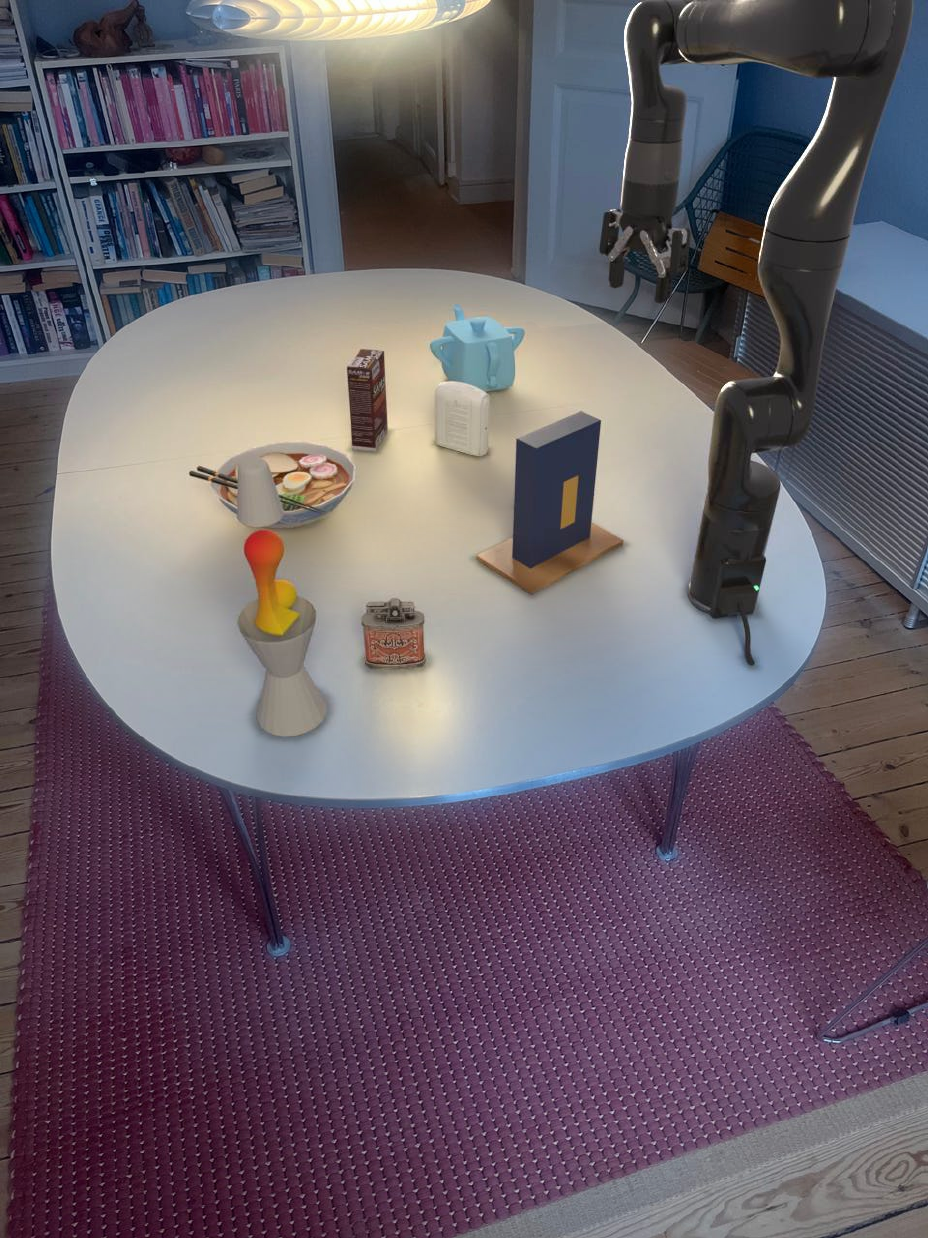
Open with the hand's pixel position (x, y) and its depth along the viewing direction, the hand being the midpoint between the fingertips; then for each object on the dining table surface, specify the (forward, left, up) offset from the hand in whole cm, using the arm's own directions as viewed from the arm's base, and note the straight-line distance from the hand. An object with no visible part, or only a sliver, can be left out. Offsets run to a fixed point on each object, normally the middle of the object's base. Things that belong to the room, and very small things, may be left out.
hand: (638, 294), depth 138 cm
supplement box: (+28, +38, -34) cm, 58 cm away
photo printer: (+22, +22, -34) cm, 46 cm away
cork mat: (-14, +15, -34) cm, 40 cm away
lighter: (-35, +42, -34) cm, 65 cm away
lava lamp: (-42, +56, -34) cm, 78 cm away
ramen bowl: (+5, +54, -34) cm, 64 cm away
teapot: (+50, +14, -34) cm, 62 cm away
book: (-17, +21, -23) cm, 35 cm away
